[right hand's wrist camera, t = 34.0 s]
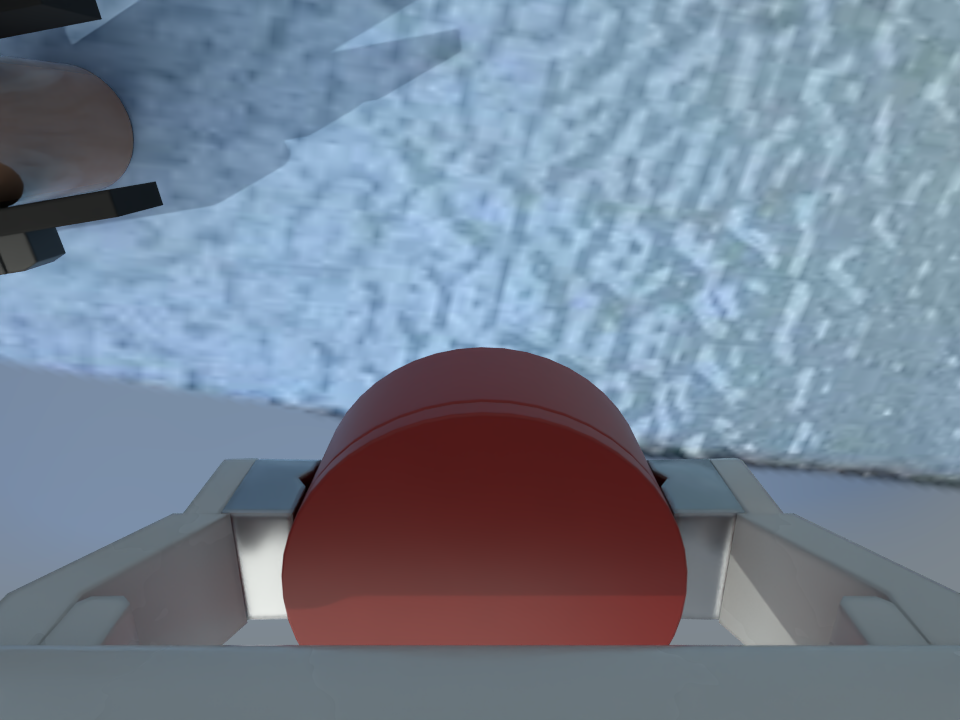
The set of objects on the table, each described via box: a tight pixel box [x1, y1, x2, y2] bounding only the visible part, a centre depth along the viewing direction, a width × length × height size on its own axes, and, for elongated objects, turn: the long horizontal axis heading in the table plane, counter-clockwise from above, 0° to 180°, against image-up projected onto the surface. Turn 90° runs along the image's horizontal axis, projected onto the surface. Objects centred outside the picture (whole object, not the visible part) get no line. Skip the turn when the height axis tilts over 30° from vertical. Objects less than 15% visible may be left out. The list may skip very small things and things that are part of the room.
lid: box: [281, 347, 688, 645], centre depth 9 cm, size 5×5×2 cm
